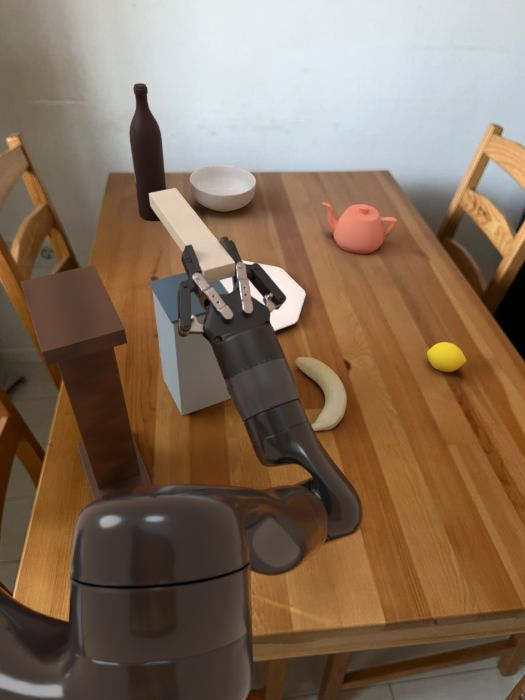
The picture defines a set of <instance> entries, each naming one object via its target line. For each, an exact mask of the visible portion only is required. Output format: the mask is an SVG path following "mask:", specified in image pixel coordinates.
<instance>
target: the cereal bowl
mask: <svg viewBox="0 0 525 700" xmlns="http://www.w3.org/2000/svg"><path fill="white" fill-rule="evenodd" d="M189 187H190V188H189V189H190V193H191V195H192V197H193V199H194V200H195V201H196V202H197V203H199V204H200V205H201V206H202V207H205V208H207V209H210V210H213V211H215V212H221V213H222V212H223V213H225V212H231V211H236V210H239V209H242V208H243V207H246V206H247V205H248V204H249V203H250V202H251V201H252V200H253V198H254V196H255V194H256V189H257V188H256V187H257V180H256V177H255V176H254V174H252V172H250V171H248V170H247V169H245V168H242V167H239V166H234V165H228V164H214V165H207V166H203V167H200V168H198V169H196V170H194V171H193V172H192V173H191V174H190V176H189Z"/></svg>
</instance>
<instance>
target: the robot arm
mask: <svg viewBox="0 0 525 700" xmlns="http://www.w3.org/2000/svg"><path fill="white" fill-rule="evenodd" d="M218 241H219V243H220V244H221V245H222V247H223V248H224V249H225V250H226V252H227V253H228V254H229V255H230V257H231V258H232V259H233V260H234V262H235V276H234V277H232V282H233V291H232V292H231V293H229V294H220V295H218V293H217V292H216V291H215V289H214V288H213V287H212V286H210V285H209V284H208V282H207V281H206V280H205V278H204V277H203V276H202V274H201V271H202V270H201V268H200V265H199V261H198V259H197V256H196V254H195V251H194V249H193V246H192V245H186V246H185V249H184V251H183V252H182V254H181V263H182V266H183V269H184V271H185V273H186V274H187V276H188V280H186V281H182V282H181V283H180V286H179V290H178V293H177V302H178V334H179V335H180V336H181V337H186V336H187V335H188V334H202V335H203V337H204V338H205V339H207V340H208V341H209V343H210V344H211V347H212V349H213V352H214V355H215V357H216V360H217V362H218V365H219V367H220V370H221V373H222V375H223V378H224V380H225V383H226V385H227V391H228V393H229V395H230V396H231V401H232V403H233V405H234V407H235V409H236V411H237V413H238V414H239V416H240V418H241V421H242V422H243V425H244V427H245V430H246V432H247V436H248V438H249V440H250V443H251V446H252V449H253V451H254V453H255V456H256V458H257V460H258V462H259V463H260V464H261V465H262V466H263V467H266V468H276V467H282V466H290V465H296V466H299V467H301V468H303V469H304V470H305V471H306V472H307V473H308V474H309V475H310V476H311V477H308V478H306V479H304V480H301V481H299V482H295V483H293V484H283V485H277V486H273V487H269V488H264V489H263V488H262V489H260V488H254V487H248V486H241V485H240V486H239V485H230V484H213V483H163V484H152V485H149V486H141V487H134V488H128V489H123V490H119V491H115V492H112V493H109V494H107V495H104V496H101V497H99V498H97V499H95V500H94V499H92V500H91V501H90V502H89V503H87V504H86V505H85V506H84V507H83V508H82V509H81V511H80V512H79V514H78V515H77V518H76V521H75V524H74V529H73V533H72V539H71V540H72V542H71V549H70V563H69V564H70V565H69V566H70V567H69V595H68V596H69V599H68V620H65V619H61V618H58V617H55V616H51V615H48V614H45V613H42V612H40V611H38V610H36V609H33V608H31V607H29V606H27V605H26V604H24V603H22V602H21V601H19V600H18V599H16V598H15V597H13V596H12V595H11V594H10V593H8V591H6V590H5V589H3V588H2V587H1V586H0V700H247V698H248V696H249V694H250V692H251V688H252V683H253V676H254V675H253V673H254V642H253V641H254V639H253V638H254V637H253V636H254V635H253V602H252V601H253V600H252V598H253V597H252V574H251V573H255V574H257V575H262V576H267V577H276V576H282V575H286V574H289V573H291V572H293V571H295V570H296V569H298V568H300V567H301V566H302V565H303V564H305V563H306V562H307V561H308V560H310V559H312V557H314V556H315V555H316V554H317V552H319V551H320V549H321V548H322V547H323V546H326V545H328V544H331V543H334V542H338V541H341V540H343V539H346V538H349V537H351V536H353V535H355V534H357V532H358V531H359V530H360V528H361V527H362V525H363V519H364V507H363V503H362V500H361V497H360V495H359V493H358V491H357V490H356V489H355V487H354V485H353V484H352V483H351V481H350V480H349V478H347V476H346V475H345V474H344V472H343V471H342V470H341V469H340V467H339V466H338V465H337V463H336V462H335V461H334V460H333V459H332V457H331V456H330V454H329V453H328V451H327V450H326V449H325V447H324V446H323V444H322V442H321V441H320V439H319V437H318V436H317V434H316V431H314V430H313V428H312V423H311V421H310V418H309V415H308V413H307V411H306V408H305V406H304V404H303V401H302V399H301V397H300V394H299V390H298V387H297V382H296V380H295V377H294V374H293V371H292V370H291V368H290V365H289V362H288V360H287V356H286V355H285V353H284V350H283V347H282V346H281V343H280V341H279V338H278V335H277V333H276V331H274V328H273V327H272V325H271V323H270V313H271V312H272V311H273V310H277V309H279V308H280V307H281V306H282V304H283V303H284V302H285V301H286V296H285V294H284V293H283V292H282V291H281V290H280V288H279V287H278V286H277V285H276V284H275V282H274V281H273V280H272V279H271V278H270V277H269V275H268V274H267V273H266V272H265V271H264V269H263V268H262V267H261V266H260V265H259V264H260V263H259V264H258V262H254V264H252V265H250V264H245V263H243V262H242V260H243V259H242V257H241V255H240V253H239V251H238V248H237V245H236V243H235V242H234V241H233V240H232V239H229V236H227V235H226V236H222V237H220V239H219V240H218ZM247 278H248V279H249V280H248V279H247ZM249 281H250V282H251V283H252V284H253V285H254V287H255V288H256V289H257V290H258V291H259V293H260V294H261V295H262V296H263V302H264V304H265V305H264V304H262V303H261V302H259V301H258V300H256V299H255V298H254V297H252V296H251V293H250V285H249ZM192 292H194V294H195V295H196V296H197V298H198V299H199V303H200V304H201V306H202V307H203V308H204V310H205V311H206V315H205V318H204V322H203V324H200V323H199V322H198V320H197V317H196V316H195V315H191V293H192Z"/></svg>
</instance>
